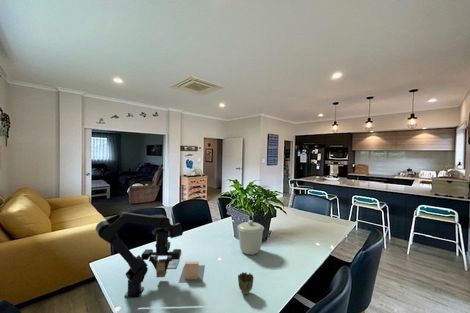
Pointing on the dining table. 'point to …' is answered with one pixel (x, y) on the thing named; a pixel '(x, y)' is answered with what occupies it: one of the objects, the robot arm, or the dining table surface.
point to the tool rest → (173, 264)
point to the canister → (250, 237)
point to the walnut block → (161, 268)
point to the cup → (245, 282)
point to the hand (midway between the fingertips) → (161, 270)
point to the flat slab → (191, 270)
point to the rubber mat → (200, 279)
